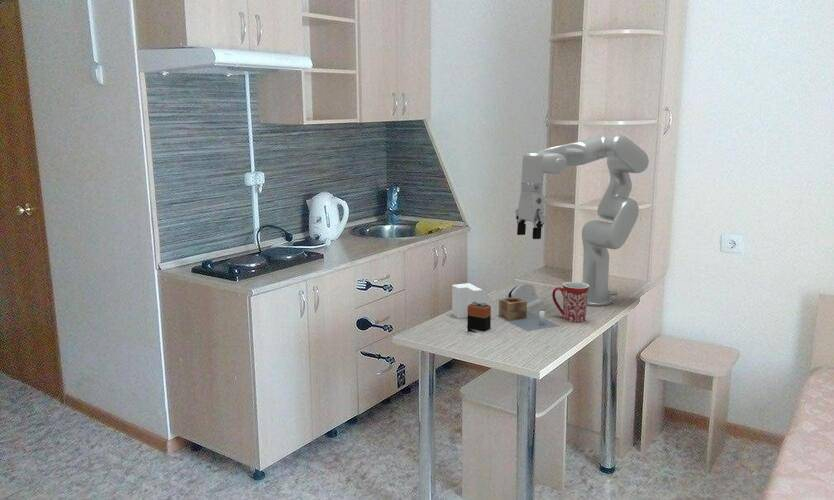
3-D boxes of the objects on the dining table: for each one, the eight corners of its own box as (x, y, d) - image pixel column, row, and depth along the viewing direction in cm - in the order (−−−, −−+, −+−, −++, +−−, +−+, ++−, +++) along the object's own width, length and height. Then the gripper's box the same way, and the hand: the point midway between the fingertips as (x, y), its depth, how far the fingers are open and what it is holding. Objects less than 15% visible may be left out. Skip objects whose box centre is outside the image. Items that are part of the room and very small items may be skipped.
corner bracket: (452, 317, 243) (452, 284, 240) (480, 313, 247) (480, 281, 244) (464, 325, 233) (464, 291, 231) (494, 321, 237) (494, 288, 235)
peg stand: (526, 314, 246) (526, 298, 244) (559, 329, 228) (560, 312, 227) (495, 318, 240) (495, 303, 239) (527, 334, 222) (527, 317, 221)
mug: (591, 321, 236) (592, 283, 234) (582, 327, 229) (584, 289, 226) (557, 315, 243) (558, 279, 241) (547, 322, 236) (548, 284, 233)
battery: (484, 335, 223) (485, 305, 221) (466, 331, 226) (467, 302, 224) (491, 331, 226) (491, 302, 224) (473, 328, 230) (473, 299, 228)
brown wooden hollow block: (515, 313, 243) (515, 296, 242) (526, 318, 237) (526, 301, 235) (498, 315, 240) (498, 299, 239) (509, 320, 234) (509, 303, 233)
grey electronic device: (521, 315, 244) (513, 288, 245) (510, 317, 247) (502, 291, 248) (543, 305, 257) (535, 279, 258) (532, 307, 260) (525, 282, 261)
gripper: (555, 190, 230) (551, 240, 233) (527, 186, 246) (524, 233, 249) (536, 190, 227) (533, 241, 230) (509, 186, 243) (506, 233, 246)
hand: (528, 236), depth 239 cm, fingers open, 9 cm apart
